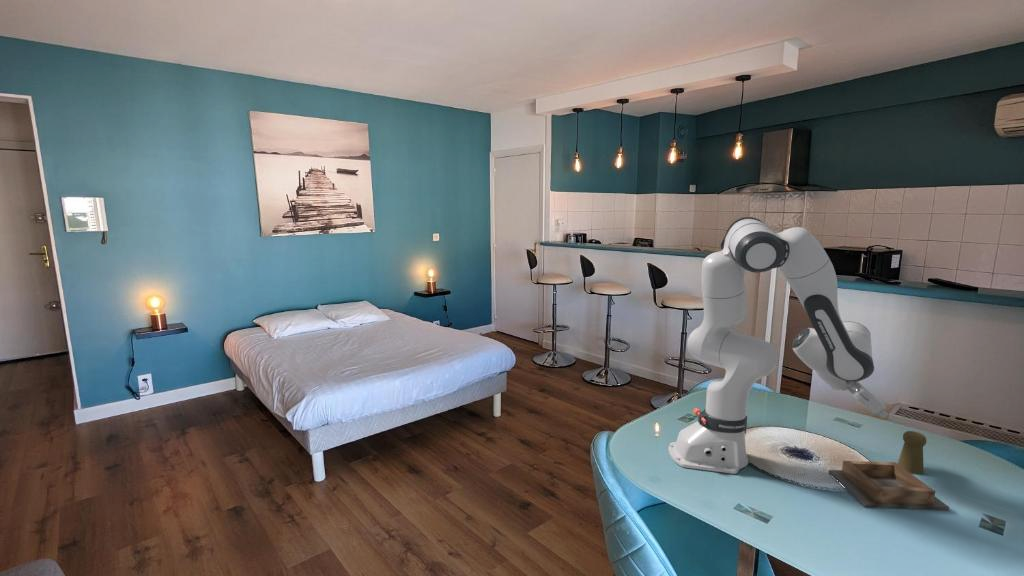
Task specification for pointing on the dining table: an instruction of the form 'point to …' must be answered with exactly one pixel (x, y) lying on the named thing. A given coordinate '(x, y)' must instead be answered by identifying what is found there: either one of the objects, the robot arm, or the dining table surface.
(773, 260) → the robot arm
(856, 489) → the collar
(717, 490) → the dining table surface
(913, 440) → the cork
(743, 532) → the dining table surface
